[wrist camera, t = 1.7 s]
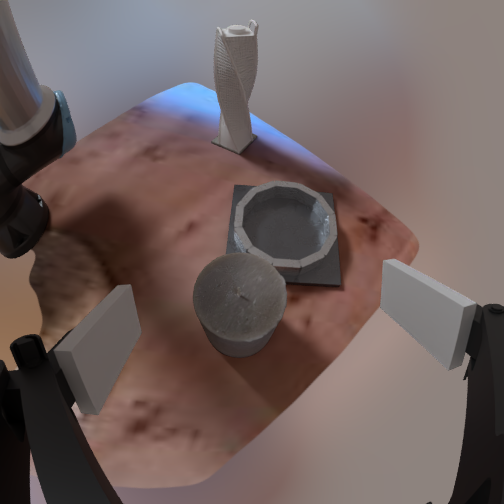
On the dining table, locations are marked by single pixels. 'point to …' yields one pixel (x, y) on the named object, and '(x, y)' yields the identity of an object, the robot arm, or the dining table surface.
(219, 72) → the skyscraper
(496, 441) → the robot arm
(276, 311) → the pillar candle
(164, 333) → the dining table surface
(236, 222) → the duct collar
